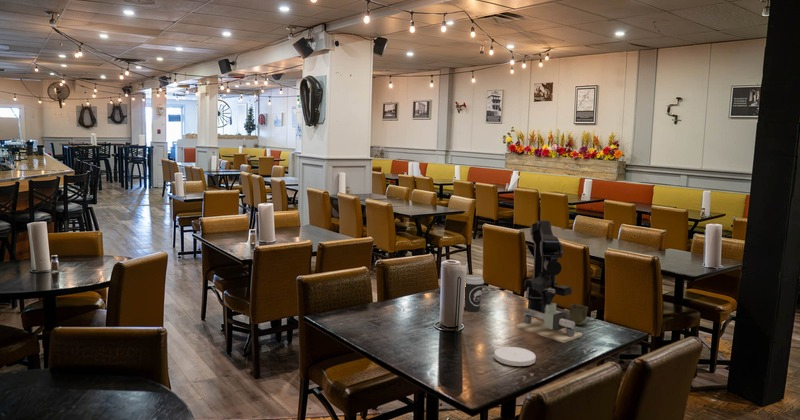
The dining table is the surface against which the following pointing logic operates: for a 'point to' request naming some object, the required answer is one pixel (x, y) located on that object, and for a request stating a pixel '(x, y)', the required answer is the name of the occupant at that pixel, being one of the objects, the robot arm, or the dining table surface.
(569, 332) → the steel pipe
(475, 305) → the coffee cup
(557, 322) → the rubber collar
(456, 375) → the dining table surface
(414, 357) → the dining table surface
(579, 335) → the base board
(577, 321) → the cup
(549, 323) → the sleeve
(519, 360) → the plastic lid
